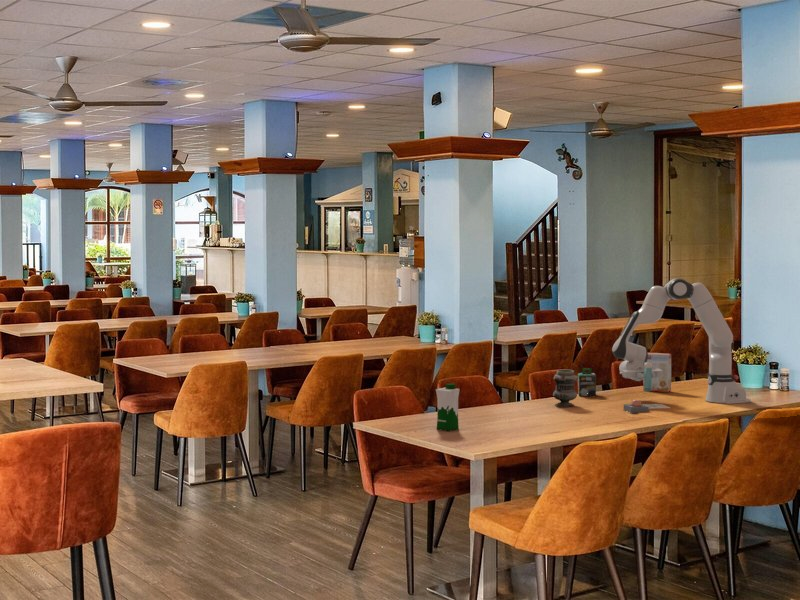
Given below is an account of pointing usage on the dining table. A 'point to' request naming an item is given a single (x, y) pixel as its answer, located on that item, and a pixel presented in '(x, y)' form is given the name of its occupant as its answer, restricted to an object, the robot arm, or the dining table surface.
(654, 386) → the cracker box
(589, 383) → the chalk box
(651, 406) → the picture board
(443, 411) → the milk carton
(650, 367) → the marker
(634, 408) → the button housing
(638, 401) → the button
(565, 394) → the apothecary jar
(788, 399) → the dining table surface
